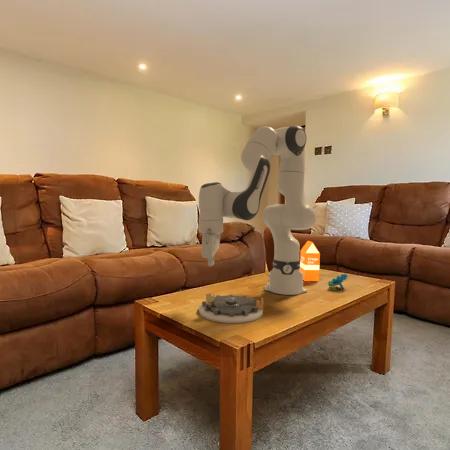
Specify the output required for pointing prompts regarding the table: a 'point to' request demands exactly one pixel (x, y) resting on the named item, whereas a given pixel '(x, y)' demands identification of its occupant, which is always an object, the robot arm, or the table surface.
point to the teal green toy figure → (338, 281)
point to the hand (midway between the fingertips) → (211, 265)
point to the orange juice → (310, 262)
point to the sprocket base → (235, 318)
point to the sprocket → (230, 305)
